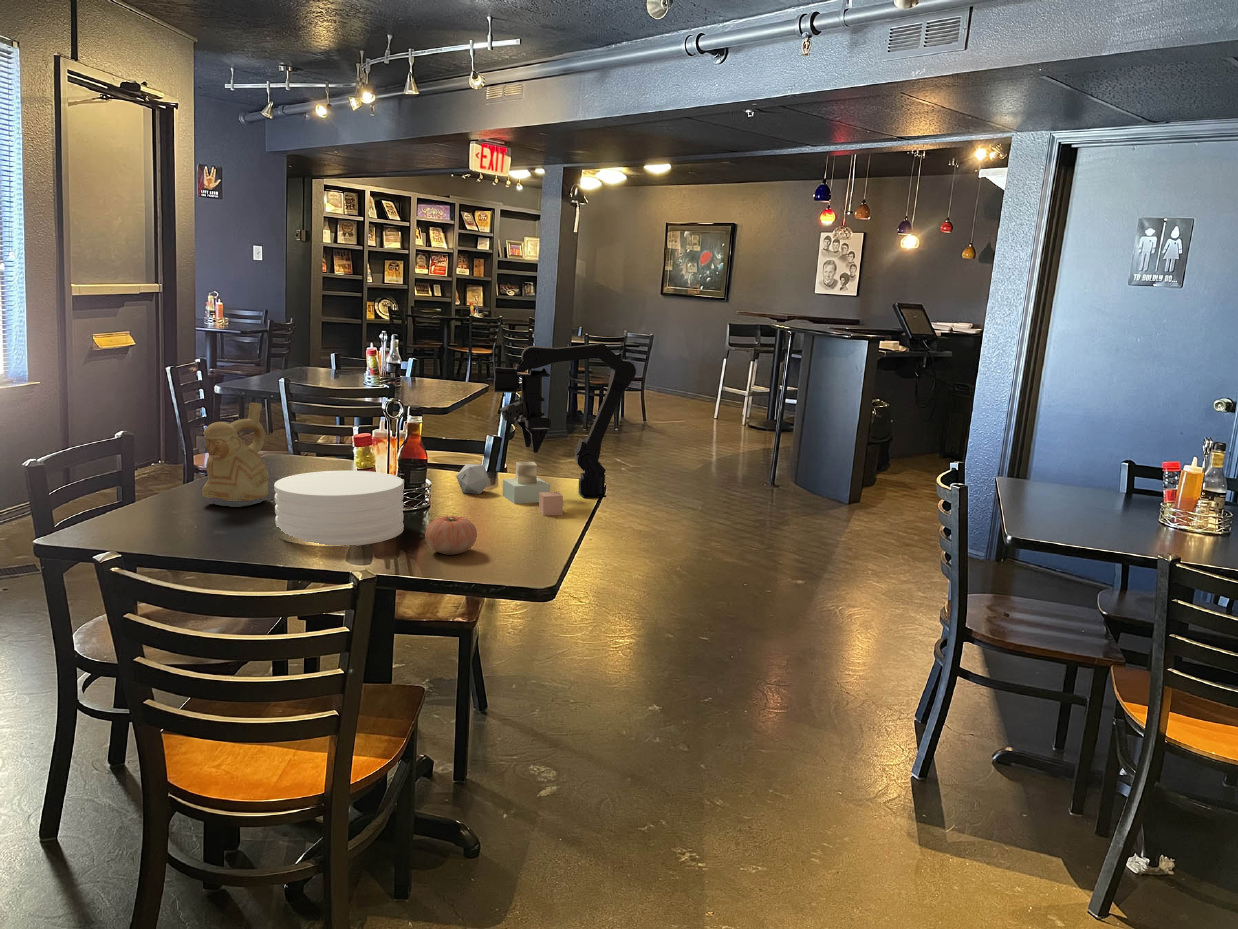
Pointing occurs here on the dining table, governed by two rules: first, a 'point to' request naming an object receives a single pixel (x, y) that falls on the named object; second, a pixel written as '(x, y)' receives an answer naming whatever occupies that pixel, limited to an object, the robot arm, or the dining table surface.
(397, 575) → the dining table surface
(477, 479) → the die
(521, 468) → the birch cube
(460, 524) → the pumpkin
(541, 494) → the terracotta cube
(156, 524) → the dining table surface
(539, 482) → the sage block
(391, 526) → the plate stack
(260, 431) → the ceramic vessel
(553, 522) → the dining table surface
